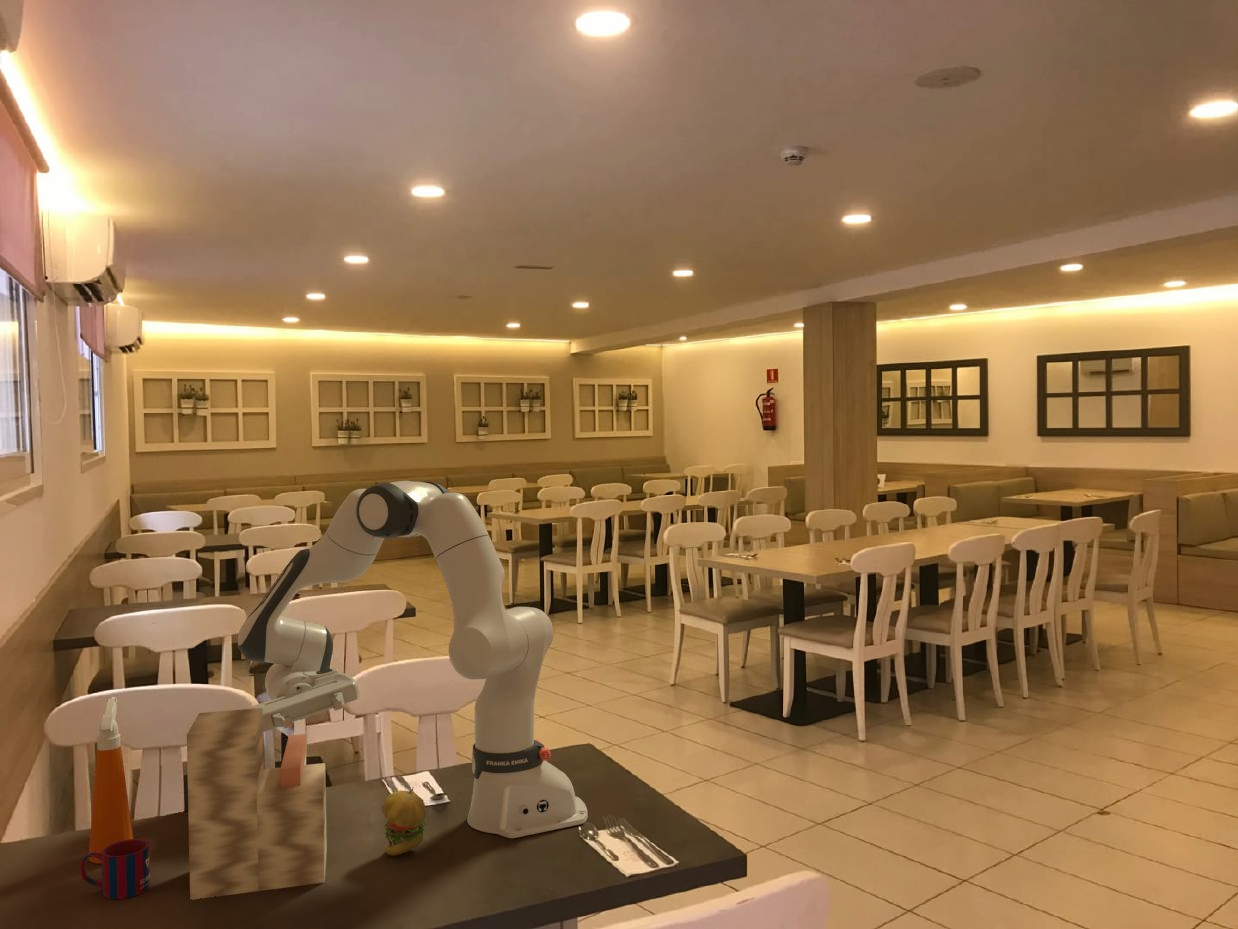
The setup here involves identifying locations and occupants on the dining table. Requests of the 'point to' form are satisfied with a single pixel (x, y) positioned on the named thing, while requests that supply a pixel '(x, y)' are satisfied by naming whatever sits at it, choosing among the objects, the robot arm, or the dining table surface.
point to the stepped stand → (249, 812)
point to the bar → (293, 760)
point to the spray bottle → (109, 788)
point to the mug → (122, 869)
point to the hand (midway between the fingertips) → (313, 714)
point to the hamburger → (403, 821)
